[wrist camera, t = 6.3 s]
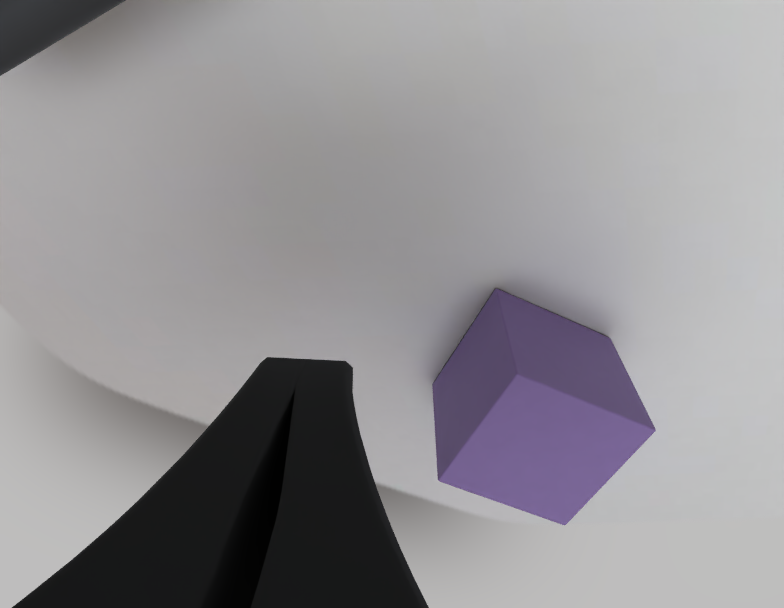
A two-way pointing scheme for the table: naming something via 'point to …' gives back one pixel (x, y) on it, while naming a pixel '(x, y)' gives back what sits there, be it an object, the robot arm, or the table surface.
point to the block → (534, 410)
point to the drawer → (42, 25)
